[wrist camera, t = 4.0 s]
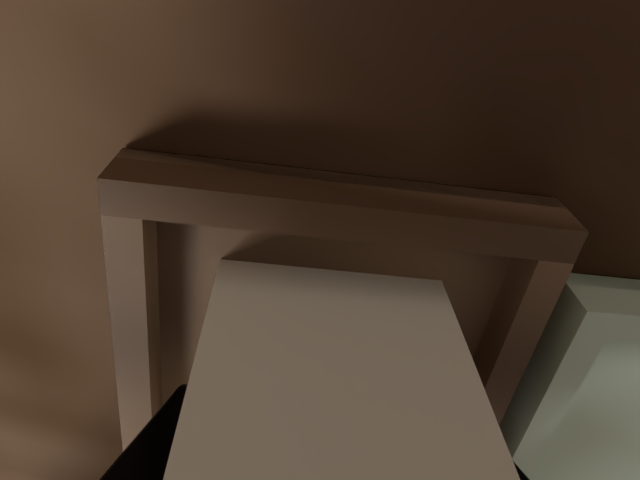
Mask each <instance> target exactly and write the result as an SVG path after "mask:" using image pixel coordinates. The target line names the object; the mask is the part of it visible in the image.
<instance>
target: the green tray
mask: <svg viewBox="0 0 640 480" xmlns="http://www.w3.org/2000/svg"><path fill="white" fill-rule="evenodd" d="M499 427H500V429H501V432H502V435H503V437H504V440H505V442H506V445H507V447H508V450H509V452H510V455H511V457H512V460H513V461H514V462H515V463H516V465H517V466H518V467H519V468H520V469H521V470H522V471H523V473H524V474H525V475H526V476H527V477H528V478H529V479H530V480H640V280H637V279H627V278H617V277H607V276H597V275H587V274H578V273H570V275H569V277H568V279H567V281H566V284H565V286H564V288H563V290H562V292H561V294H560V296H559V299H558V301H557V303H556V305H555V307H554V309H553V312H552V314H551V316H550V318H549V320H548V322H547V324H546V327H545V329H544V331H543V333H542V335H541V337H540V339H539V342H538V344H537V346H536V348H535V350H534V352H533V354H532V357H531V359H530V361H529V363H528V365H527V367H526V369H525V372H524V374H523V376H522V378H521V380H520V382H519V384H518V387H517V389H516V391H515V393H514V395H513V397H512V399H511V402H510V404H509V406H508V408H507V410H506V412H505V414H504V417H503V419H502V421H501V423H500V425H499Z"/></svg>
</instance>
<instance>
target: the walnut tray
mask: <svg viewBox="0 0 640 480" xmlns="http://www.w3.org/2000/svg"><path fill="white" fill-rule="evenodd" d="M97 183H98V194H99V204H100V215H101V226H102V236H103V247H104V257H105V268H106V278H107V289H108V300H109V310H110V321H111V331H112V342H113V352H114V363H115V374H116V384H117V395H118V405H119V416H120V426H121V437H122V448H123V451H124V450H125V449H126V448H127V447H128V445H129V444H130V443H131V442H132V441H133V440H134V438H135V437H136V436H137V435H138V434H139V432H140V431H141V430H142V429H143V428H144V427H145V425H146V424H147V423H148V422H149V421H150V419H151V418H152V417H153V416H154V415H155V414H156V412H157V411H158V410H159V409H160V408H161V406H162V405H163V404H164V403H165V402H166V401H167V399H168V398H169V397H170V396H171V395H172V394H173V392H174V391H175V390H176V389H177V388H178V387H179V386H180V385H182V384H188V381H189V377H190V373H191V369H192V366H193V362H194V358H195V354H196V350H197V346H198V342H199V339H200V335H201V331H202V327H203V323H204V319H205V315H206V312H207V308H208V304H209V300H210V296H211V292H212V288H213V285H214V281H215V277H216V273H217V269H218V265H219V261H220V259H224V260H234V261H245V262H255V263H265V264H276V265H286V266H296V267H307V268H317V269H327V270H338V271H348V272H358V273H369V274H379V275H389V276H400V277H410V278H420V279H431V280H441V281H442V282H443V285H444V287H445V290H446V292H447V295H448V298H449V300H450V303H451V305H452V308H453V310H454V313H455V315H456V318H457V320H458V323H459V325H460V328H461V331H462V333H463V336H464V338H465V341H466V343H467V346H468V348H469V351H470V353H471V356H472V358H473V361H474V363H475V366H476V369H477V371H478V374H479V376H480V379H481V381H482V384H483V386H484V389H485V391H486V394H487V396H488V399H489V402H490V404H491V407H492V409H493V412H494V414H495V417H496V419H497V422H498V424H499V425H500V423H501V421H502V419H503V417H504V414H505V412H506V410H507V408H508V406H509V404H510V402H511V399H512V397H513V395H514V393H515V391H516V389H517V387H518V384H519V382H520V380H521V378H522V376H523V374H524V372H525V369H526V367H527V365H528V363H529V361H530V359H531V357H532V354H533V352H534V350H535V348H536V346H537V344H538V342H539V339H540V337H541V335H542V333H543V331H544V329H545V327H546V324H547V322H548V320H549V318H550V316H551V314H552V312H553V309H554V307H555V305H556V303H557V301H558V299H559V296H560V294H561V292H562V290H563V288H564V286H565V284H566V281H567V279H568V277H569V275H570V273H571V271H572V269H573V266H574V264H575V262H576V260H577V258H578V256H579V254H580V251H581V249H582V247H583V245H584V243H585V241H586V239H587V236H588V234H589V231H588V230H587V229H586V228H585V227H584V226H583V225H582V224H581V223H580V222H579V221H578V220H577V219H576V217H575V216H574V215H573V214H572V213H571V212H570V211H569V210H568V209H567V208H566V207H565V206H564V205H563V204H562V203H561V202H560V201H559V200H558V199H557V198H554V197H546V196H537V195H528V194H520V193H511V192H502V191H494V190H485V189H476V188H468V187H459V186H450V185H442V184H433V183H424V182H416V181H407V180H398V179H390V178H381V177H372V176H364V175H355V174H346V173H338V172H329V171H320V170H312V169H303V168H294V167H286V166H277V165H268V164H260V163H251V162H242V161H234V160H225V159H216V158H208V157H199V156H190V155H182V154H173V153H164V152H156V151H147V150H138V149H130V148H122V149H121V150H120V152H119V153H118V154H117V155H116V156H115V158H114V159H113V160H112V161H111V162H110V163H109V165H108V166H107V167H106V168H105V169H104V171H103V172H102V173H101V174H100V175H99V176H98V178H97Z"/></svg>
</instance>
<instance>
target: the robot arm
mask: <svg viewBox="0 0 640 480" xmlns="http://www.w3.org/2000/svg"><path fill="white" fill-rule="evenodd" d="M187 385H188V384H182V385H180V386H179V387H178V388H177V389H176V390H175V391H174V392H173V394H172V395H171V396H170V397H169V398H168V399H167V401H166V402H165V403H164V404H163V405H162V406H161V408H160V409H159V410H158V411H157V412H156V414H155V415H154V416H153V417H152V418H151V419H150V421H149V422H148V423H147V424H146V425H145V427H144V428H143V429H142V430H141V431H140V432H139V434H138V435H137V436H136V437H135V438H134V440H133V441H132V442H131V443H130V444H129V445H128V447H127V448H126V449H125V450H124V451H123V452H122V454H121V455H120V456H119V457H118V458H117V460H116V461H115V462H114V463H113V464H112V465H111V467H110V468H109V469H108V470H107V471H106V473H105V474H104V475H103V476H102V477H101V478H100V480H163V478H164V474H165V470H166V466H167V462H168V458H169V454H170V450H171V447H172V443H173V439H174V435H175V431H176V427H177V423H178V420H179V416H180V412H181V408H182V404H183V400H184V396H185V393H186V389H187ZM513 462H514V461H513ZM514 465H515V468H516V470H517V473H518V475H519V478H520V480H530V479H529V478H528V477H527V476H526V475H525V474H524V473H523V471H522V470H521V469H520V468H519V467H518V466H517V465H516V463H515V462H514Z"/></svg>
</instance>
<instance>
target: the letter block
mask: <svg viewBox="0 0 640 480" xmlns="http://www.w3.org/2000/svg"><path fill="white" fill-rule="evenodd" d="M163 480H520V478H519V475H518V473H517V470H516V468H515V465H514V462H513V460H512V457H511V455H510V452H509V450H508V447H507V445H506V442H505V440H504V437H503V435H502V432H501V429H500V427H499V424H498V422H497V419H496V417H495V414H494V412H493V409H492V407H491V404H490V402H489V399H488V396H487V394H486V391H485V389H484V386H483V384H482V381H481V379H480V376H479V374H478V371H477V369H476V366H475V363H474V361H473V358H472V356H471V353H470V351H469V348H468V346H467V343H466V341H465V338H464V336H463V333H462V331H461V328H460V325H459V323H458V320H457V318H456V315H455V313H454V310H453V308H452V305H451V303H450V300H449V298H448V295H447V292H446V290H445V287H444V285H443V282H442V281H441V280H431V279H420V278H410V277H400V276H389V275H379V274H369V273H358V272H348V271H338V270H327V269H317V268H307V267H296V266H286V265H276V264H265V263H255V262H245V261H234V260H224V259H220V261H219V265H218V269H217V273H216V277H215V281H214V285H213V288H212V292H211V296H210V300H209V304H208V308H207V312H206V315H205V319H204V323H203V327H202V331H201V335H200V339H199V342H198V346H197V350H196V354H195V358H194V362H193V366H192V369H191V373H190V377H189V381H188V385H187V389H186V393H185V396H184V400H183V404H182V408H181V412H180V416H179V420H178V423H177V427H176V431H175V435H174V439H173V443H172V447H171V450H170V454H169V458H168V462H167V466H166V470H165V474H164V478H163Z"/></svg>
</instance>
